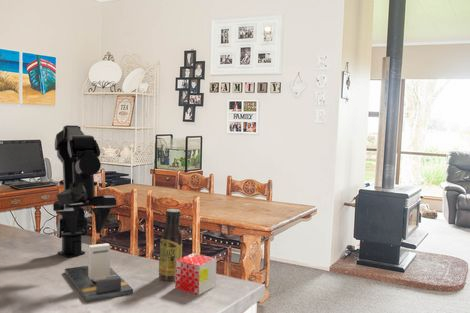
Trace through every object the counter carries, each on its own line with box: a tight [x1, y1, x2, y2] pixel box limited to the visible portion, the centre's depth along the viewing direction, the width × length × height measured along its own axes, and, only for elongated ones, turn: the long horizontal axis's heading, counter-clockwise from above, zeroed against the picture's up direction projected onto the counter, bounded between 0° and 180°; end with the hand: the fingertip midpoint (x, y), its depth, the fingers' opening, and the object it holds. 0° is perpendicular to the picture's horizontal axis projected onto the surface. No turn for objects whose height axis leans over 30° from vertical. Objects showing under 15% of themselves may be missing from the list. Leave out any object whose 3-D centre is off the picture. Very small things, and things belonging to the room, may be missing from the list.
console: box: [64, 265, 134, 303], centre depth 130 cm, size 24×12×4 cm, turn 32°
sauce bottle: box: [158, 208, 183, 282], centre depth 135 cm, size 6×6×20 cm
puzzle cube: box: [174, 252, 217, 295], centre depth 129 cm, size 8×8×8 cm
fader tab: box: [87, 242, 111, 282], centre depth 128 cm, size 3×5×9 cm, turn 122°
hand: (85, 234), depth 134 cm, fingers open, 9 cm apart
